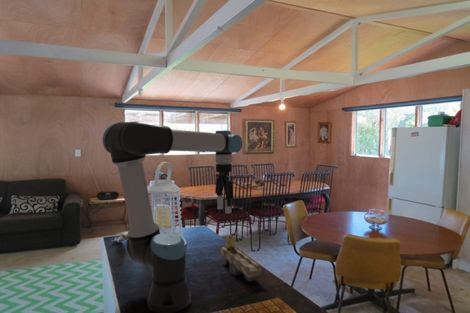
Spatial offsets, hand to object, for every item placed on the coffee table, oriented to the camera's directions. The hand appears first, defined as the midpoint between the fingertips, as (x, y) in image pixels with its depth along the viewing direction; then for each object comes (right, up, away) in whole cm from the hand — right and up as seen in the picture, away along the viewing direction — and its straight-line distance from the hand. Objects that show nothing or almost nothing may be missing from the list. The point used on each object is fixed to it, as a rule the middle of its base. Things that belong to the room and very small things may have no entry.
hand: (224, 211), depth 153 cm
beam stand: (+7, -24, -13) cm, 28 cm away
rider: (+3, -17, -5) cm, 18 cm away
